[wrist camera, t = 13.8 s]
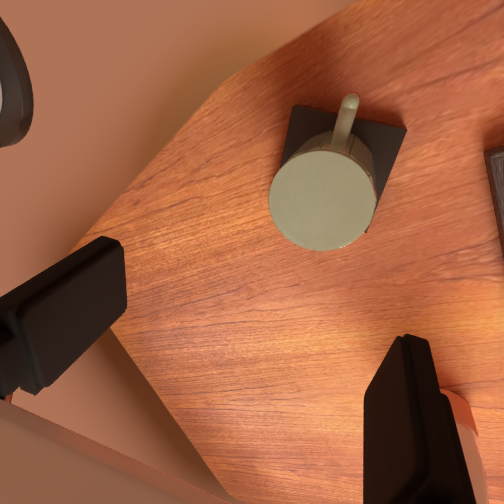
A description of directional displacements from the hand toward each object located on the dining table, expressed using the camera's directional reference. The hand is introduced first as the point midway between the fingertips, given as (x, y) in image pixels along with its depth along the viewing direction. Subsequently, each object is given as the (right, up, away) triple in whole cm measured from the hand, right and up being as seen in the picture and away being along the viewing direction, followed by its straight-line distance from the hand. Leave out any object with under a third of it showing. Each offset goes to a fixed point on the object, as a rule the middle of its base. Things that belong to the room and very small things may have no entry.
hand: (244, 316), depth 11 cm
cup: (+7, +10, +16) cm, 20 cm away
